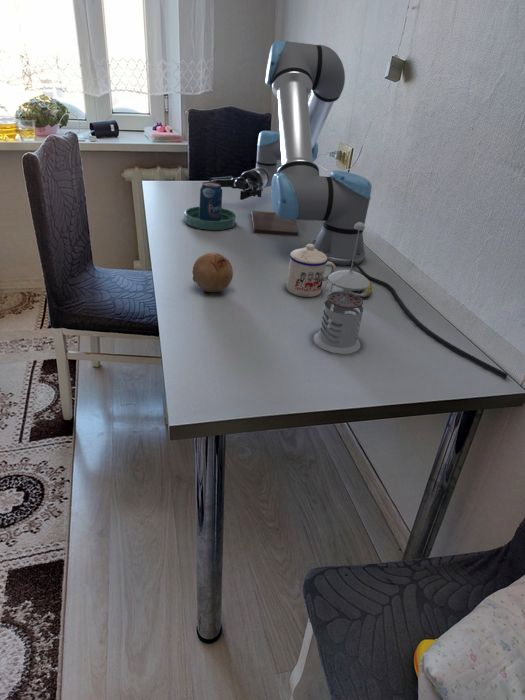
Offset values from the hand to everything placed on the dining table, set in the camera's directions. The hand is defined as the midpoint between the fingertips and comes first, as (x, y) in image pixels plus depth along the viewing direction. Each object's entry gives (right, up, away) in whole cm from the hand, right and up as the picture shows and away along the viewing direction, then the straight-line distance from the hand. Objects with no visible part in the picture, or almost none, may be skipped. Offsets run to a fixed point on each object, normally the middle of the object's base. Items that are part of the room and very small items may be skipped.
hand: (223, 191), depth 164 cm
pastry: (+37, -36, -39) cm, 65 cm away
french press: (+28, -50, -60) cm, 83 cm away
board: (+17, -10, +3) cm, 20 cm away
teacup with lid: (+24, -37, -40) cm, 60 cm away
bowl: (-4, -11, -2) cm, 11 cm away
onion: (+1, -38, -45) cm, 58 cm away
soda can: (-4, -11, -2) cm, 11 cm away
